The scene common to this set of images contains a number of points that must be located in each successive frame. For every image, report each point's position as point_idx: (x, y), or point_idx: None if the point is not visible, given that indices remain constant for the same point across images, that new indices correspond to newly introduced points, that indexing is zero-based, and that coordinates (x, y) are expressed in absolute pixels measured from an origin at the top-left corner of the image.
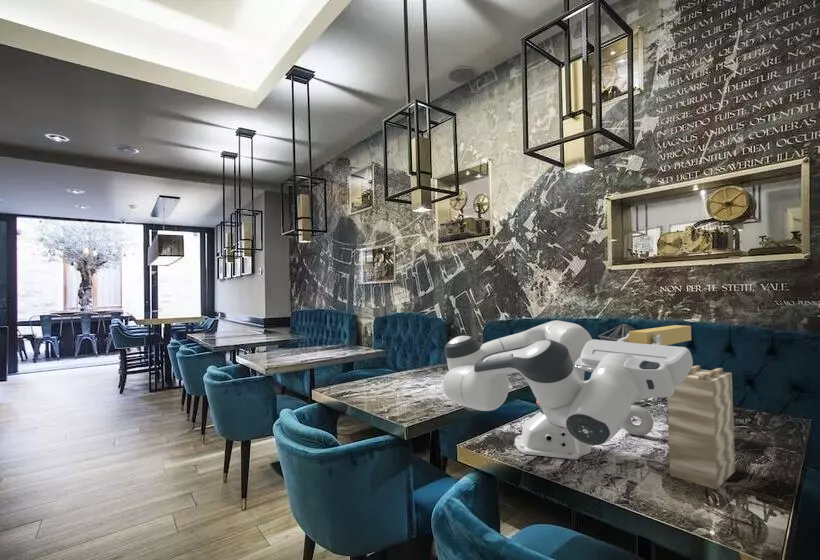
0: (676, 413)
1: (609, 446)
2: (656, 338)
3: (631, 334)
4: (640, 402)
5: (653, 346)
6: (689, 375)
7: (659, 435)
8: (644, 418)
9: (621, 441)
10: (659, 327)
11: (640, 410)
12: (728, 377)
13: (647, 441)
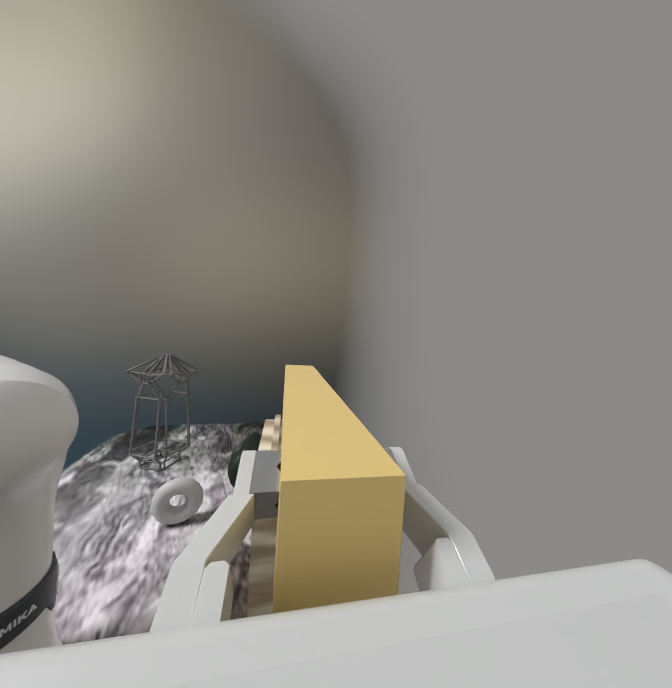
0: (266, 524)
1: (123, 600)
2: (409, 479)
3: (300, 503)
4: (181, 449)
5: (528, 634)
6: None
7: (208, 503)
8: (191, 495)
9: (150, 559)
10: (288, 378)
11: (186, 485)
12: None
13: (194, 530)
